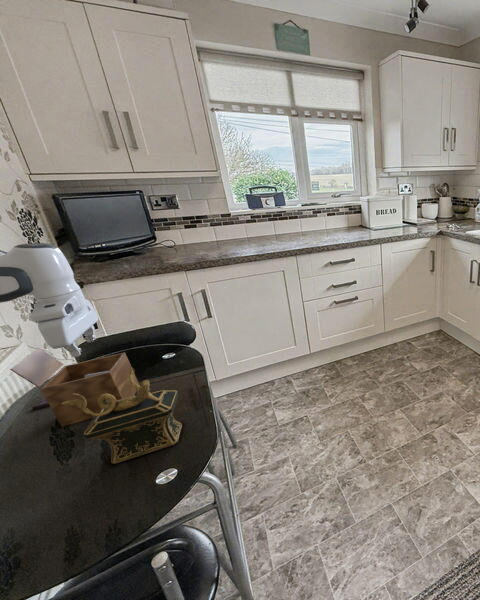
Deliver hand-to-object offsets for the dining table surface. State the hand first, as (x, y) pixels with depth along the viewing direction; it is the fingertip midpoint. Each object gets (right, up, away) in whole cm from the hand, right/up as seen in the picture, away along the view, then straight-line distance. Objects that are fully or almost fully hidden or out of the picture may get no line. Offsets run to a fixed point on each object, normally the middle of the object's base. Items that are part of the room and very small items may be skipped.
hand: (85, 348), depth 92 cm
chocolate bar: (-15, -17, +13) cm, 26 cm away
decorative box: (+25, -23, -12) cm, 36 cm away
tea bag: (+2, -17, +7) cm, 19 cm away
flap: (-10, -5, -3) cm, 11 cm away
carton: (0, -18, +6) cm, 19 cm away
